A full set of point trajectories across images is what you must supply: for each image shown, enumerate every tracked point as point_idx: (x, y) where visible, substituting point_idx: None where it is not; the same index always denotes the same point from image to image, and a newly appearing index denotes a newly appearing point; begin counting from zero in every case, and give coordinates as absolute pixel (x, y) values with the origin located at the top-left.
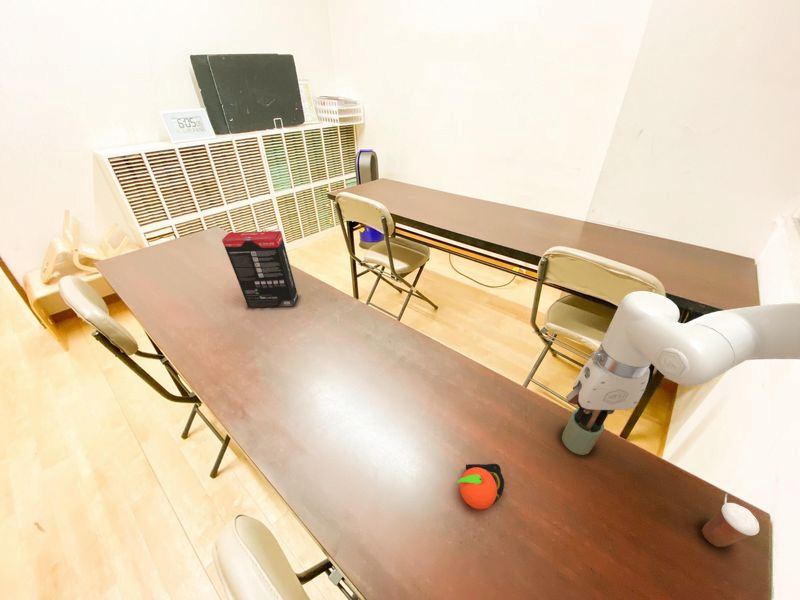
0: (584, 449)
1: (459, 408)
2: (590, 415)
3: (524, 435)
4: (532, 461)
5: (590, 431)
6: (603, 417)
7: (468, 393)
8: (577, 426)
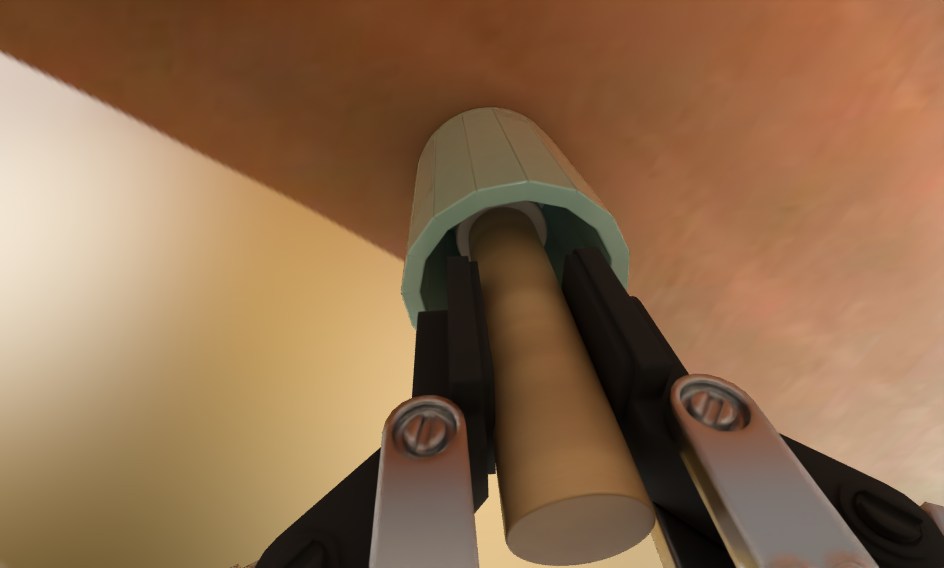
0: (497, 119)
1: (935, 293)
2: (654, 360)
3: (730, 192)
4: (778, 41)
5: (464, 224)
6: (479, 346)
7: (848, 355)
8: (620, 240)
